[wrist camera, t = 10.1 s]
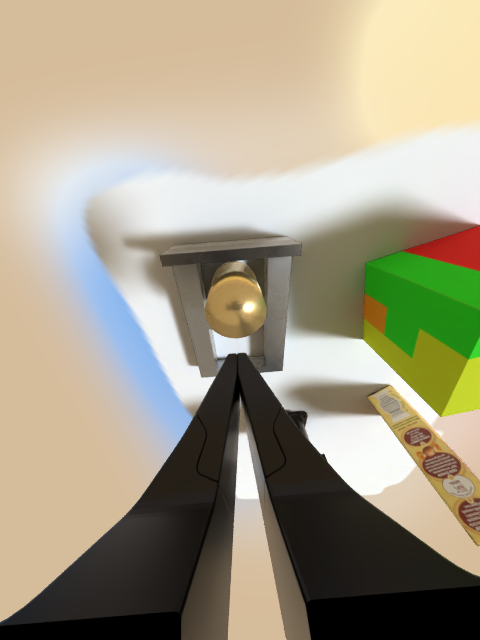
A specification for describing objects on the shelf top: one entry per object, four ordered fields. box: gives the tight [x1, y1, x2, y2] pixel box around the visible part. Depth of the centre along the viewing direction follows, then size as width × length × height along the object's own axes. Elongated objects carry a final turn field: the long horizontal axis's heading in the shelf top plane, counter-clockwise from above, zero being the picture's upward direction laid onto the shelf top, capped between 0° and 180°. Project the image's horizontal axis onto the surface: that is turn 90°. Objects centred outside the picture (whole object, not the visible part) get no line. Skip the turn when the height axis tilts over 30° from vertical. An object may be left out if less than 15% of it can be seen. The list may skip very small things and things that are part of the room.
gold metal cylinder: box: [205, 262, 267, 338], centre depth 15 cm, size 4×4×6 cm
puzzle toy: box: [363, 226, 480, 417], centre depth 15 cm, size 10×10×10 cm
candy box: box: [368, 385, 480, 547], centre depth 24 cm, size 9×4×15 cm, turn 47°
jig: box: [160, 236, 302, 377], centre depth 18 cm, size 15×10×4 cm, turn 4°
